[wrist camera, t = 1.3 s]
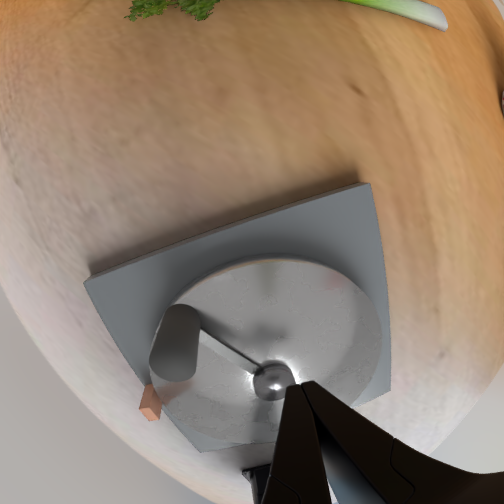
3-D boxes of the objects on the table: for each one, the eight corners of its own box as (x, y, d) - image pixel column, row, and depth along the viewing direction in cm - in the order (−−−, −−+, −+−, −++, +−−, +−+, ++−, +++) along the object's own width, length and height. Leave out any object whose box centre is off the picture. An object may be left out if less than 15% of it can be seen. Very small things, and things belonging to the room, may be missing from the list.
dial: (402, 335, 22) (442, 375, 15) (270, 445, 24) (280, 492, 18) (260, 193, 17) (283, 204, 11) (114, 367, 19) (90, 422, 13)
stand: (384, 382, 25) (402, 407, 21) (200, 442, 25) (199, 473, 21) (360, 182, 19) (393, 185, 15) (90, 275, 19) (64, 299, 14)
